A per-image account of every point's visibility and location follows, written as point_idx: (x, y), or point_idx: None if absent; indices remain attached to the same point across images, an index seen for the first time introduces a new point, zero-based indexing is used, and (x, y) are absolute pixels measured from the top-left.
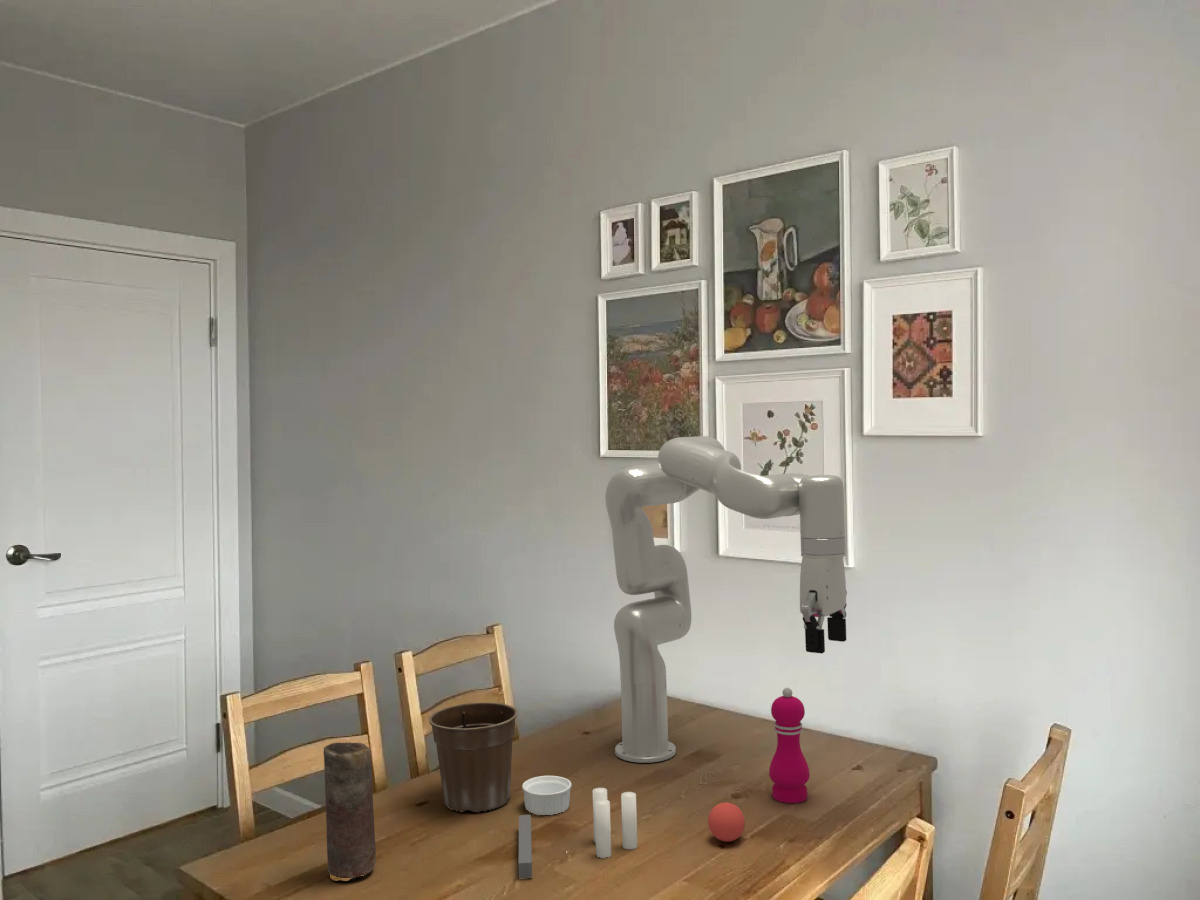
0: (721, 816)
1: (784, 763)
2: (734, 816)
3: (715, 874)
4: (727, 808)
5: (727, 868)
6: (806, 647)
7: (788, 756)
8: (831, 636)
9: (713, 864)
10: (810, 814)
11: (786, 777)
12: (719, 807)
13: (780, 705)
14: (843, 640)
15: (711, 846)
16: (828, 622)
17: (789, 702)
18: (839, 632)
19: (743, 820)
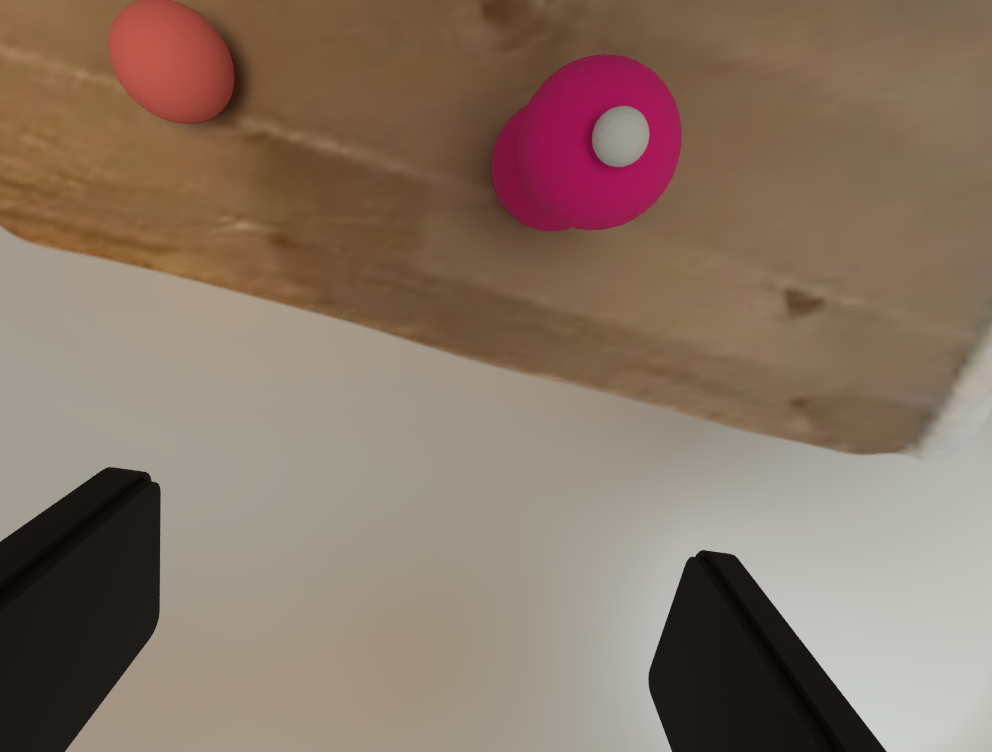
0: (109, 53)
1: (507, 161)
2: (135, 94)
3: (6, 109)
4: (127, 63)
5: (53, 129)
6: (88, 489)
7: (519, 172)
8: (696, 603)
9: (52, 86)
10: (450, 251)
11: (493, 172)
12: (122, 32)
13: (538, 119)
14: (649, 681)
15: None
16: (789, 714)
17: (559, 165)
18: (689, 717)
19: (176, 119)
